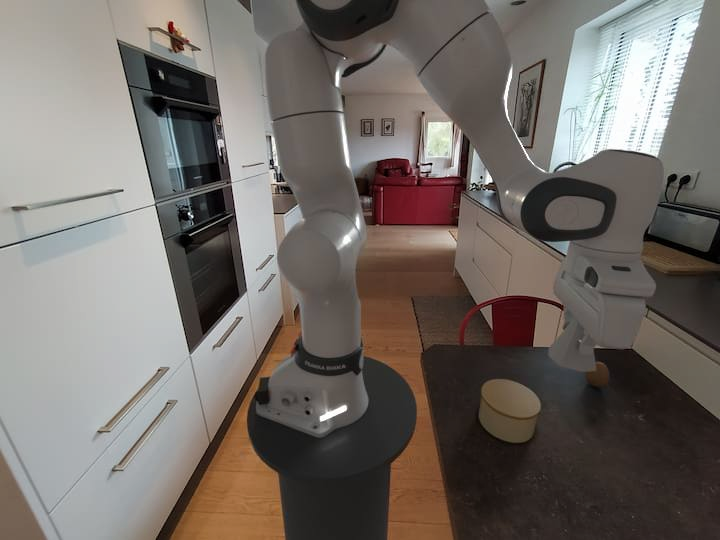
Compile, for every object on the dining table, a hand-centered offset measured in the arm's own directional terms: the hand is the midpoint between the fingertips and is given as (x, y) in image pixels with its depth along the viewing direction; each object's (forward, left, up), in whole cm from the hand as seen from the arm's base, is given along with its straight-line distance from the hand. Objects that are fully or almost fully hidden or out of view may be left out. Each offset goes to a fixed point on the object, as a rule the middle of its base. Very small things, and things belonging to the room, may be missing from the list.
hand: (575, 341), depth 54 cm
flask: (0, 0, -4) cm, 4 cm away
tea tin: (-8, +2, -20) cm, 22 cm away
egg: (+14, +18, -20) cm, 30 cm away
